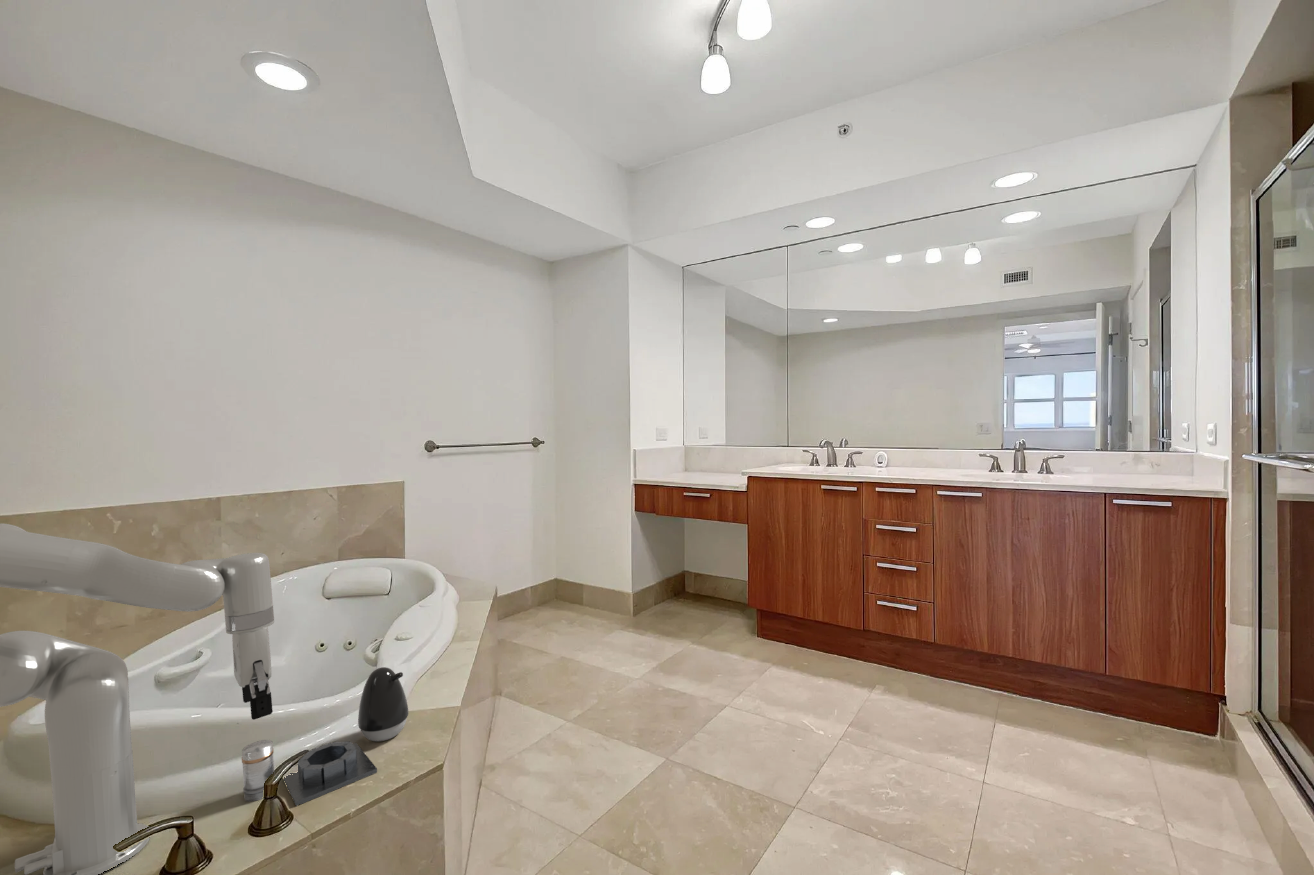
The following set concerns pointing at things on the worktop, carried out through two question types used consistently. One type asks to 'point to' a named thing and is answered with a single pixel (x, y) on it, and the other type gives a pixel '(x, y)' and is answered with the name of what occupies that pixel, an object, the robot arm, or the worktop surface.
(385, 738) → the pump dispenser
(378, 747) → the worktop surface
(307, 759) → the bore block
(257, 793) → the piston
